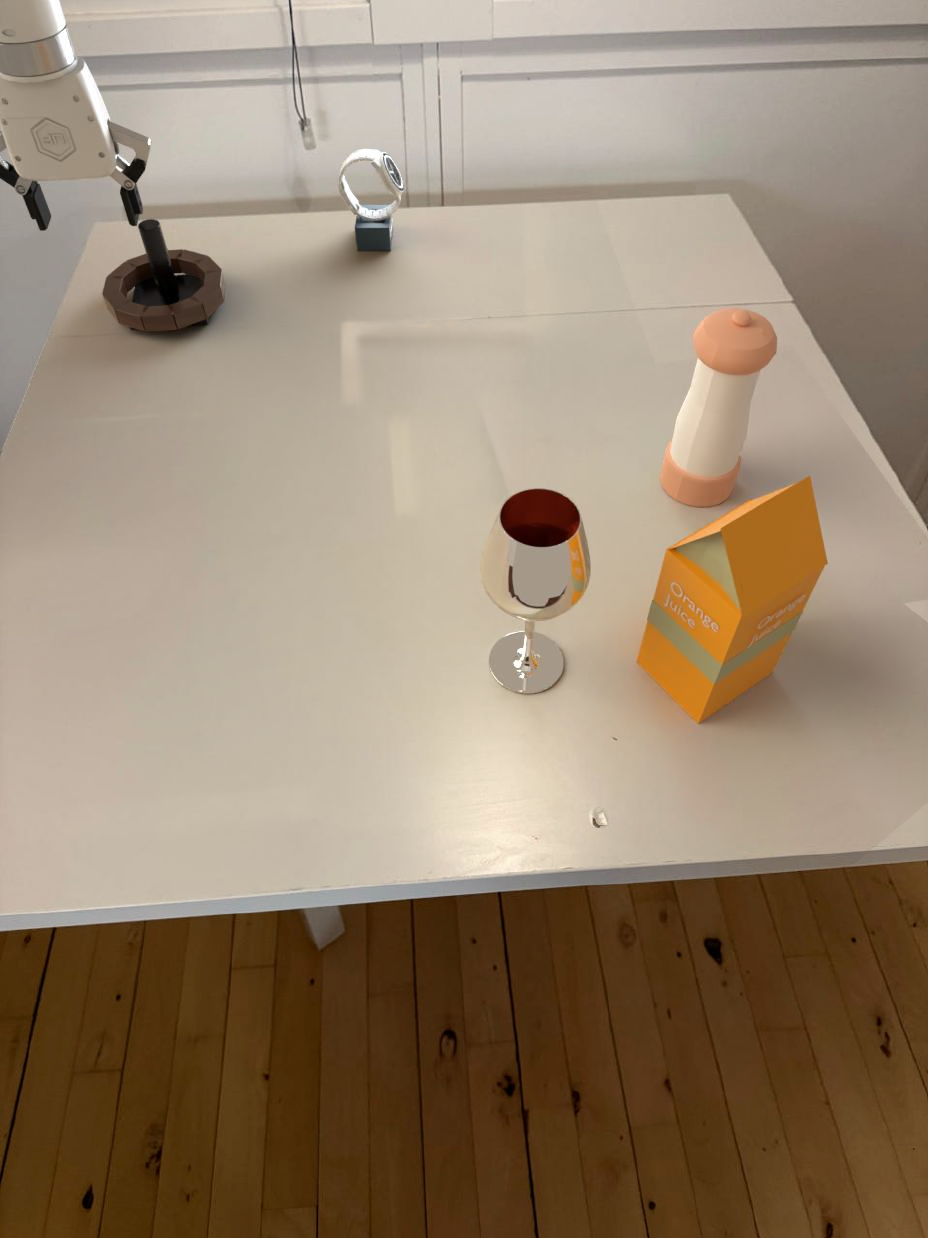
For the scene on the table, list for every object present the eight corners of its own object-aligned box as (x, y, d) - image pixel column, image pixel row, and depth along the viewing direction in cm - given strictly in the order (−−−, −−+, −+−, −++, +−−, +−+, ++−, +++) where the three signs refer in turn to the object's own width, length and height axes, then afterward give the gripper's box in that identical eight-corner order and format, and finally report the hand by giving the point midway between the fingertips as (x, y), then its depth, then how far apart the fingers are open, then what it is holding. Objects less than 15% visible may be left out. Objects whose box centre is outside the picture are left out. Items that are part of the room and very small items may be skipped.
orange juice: (634, 661, 77) (678, 494, 61) (709, 613, 80) (769, 443, 64) (699, 726, 73) (764, 566, 57) (775, 673, 76) (857, 508, 60)
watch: (406, 250, 115) (401, 164, 106) (343, 250, 115) (333, 164, 106) (408, 227, 119) (403, 141, 110) (347, 227, 119) (337, 141, 110)
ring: (101, 334, 103) (95, 319, 101) (117, 267, 111) (111, 252, 109) (221, 327, 104) (217, 311, 102) (228, 261, 112) (224, 246, 110)
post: (130, 329, 105) (101, 248, 97) (139, 285, 111) (113, 205, 103) (207, 324, 106) (186, 243, 98) (213, 281, 111) (192, 201, 103)
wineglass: (561, 618, 80) (582, 469, 65) (584, 696, 75) (613, 553, 60) (470, 631, 79) (471, 483, 64) (488, 710, 74) (493, 569, 60)
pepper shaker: (716, 451, 92) (765, 283, 77) (744, 500, 88) (802, 333, 73) (649, 461, 92) (685, 294, 76) (674, 512, 87) (718, 345, 72)
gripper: (-72, 69, 83) (3, 244, 96) (119, 62, 84) (167, 236, 98) (-52, 37, 87) (17, 208, 101) (129, 30, 88) (173, 200, 102)
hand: (90, 221), depth 99 cm, fingers open, 9 cm apart
